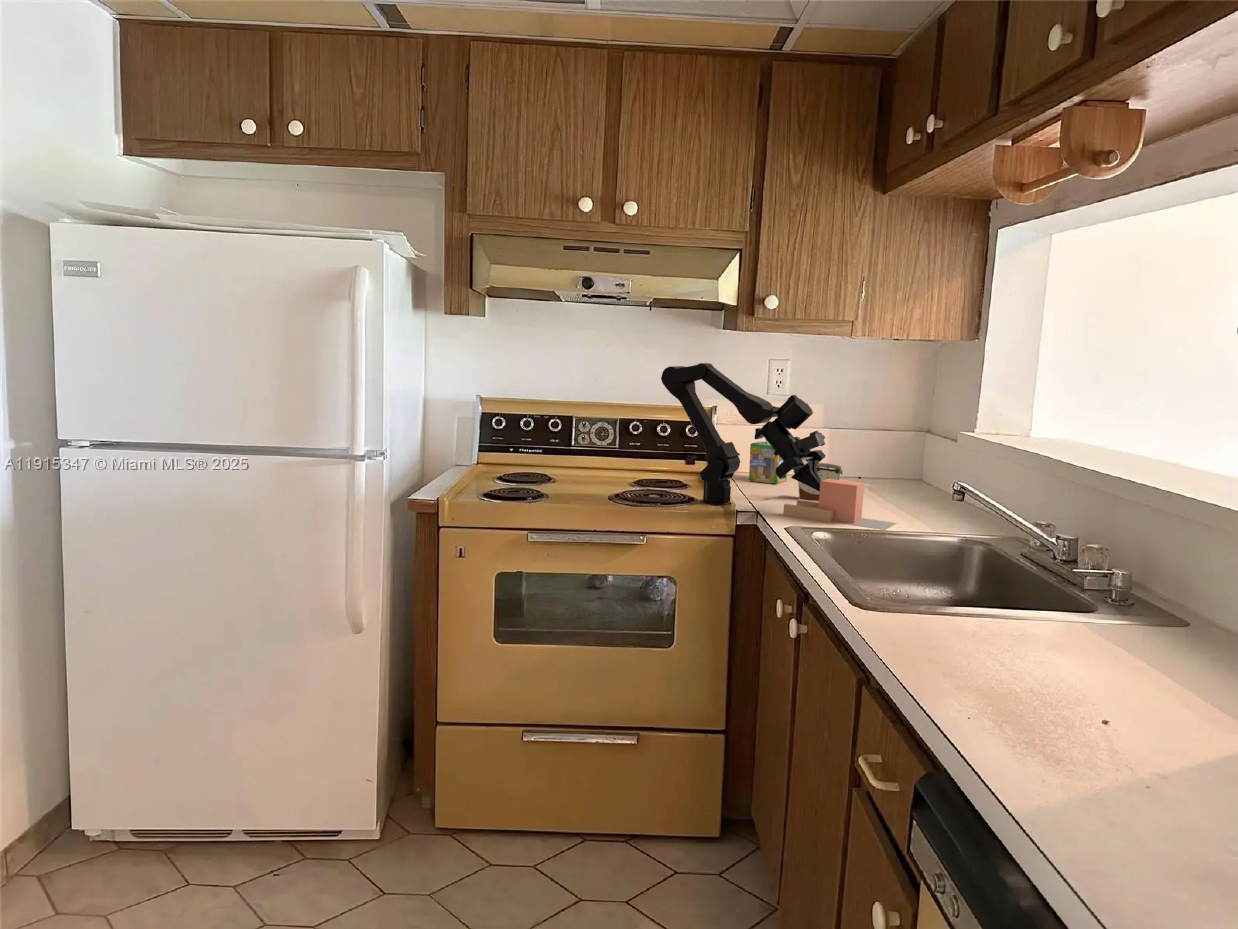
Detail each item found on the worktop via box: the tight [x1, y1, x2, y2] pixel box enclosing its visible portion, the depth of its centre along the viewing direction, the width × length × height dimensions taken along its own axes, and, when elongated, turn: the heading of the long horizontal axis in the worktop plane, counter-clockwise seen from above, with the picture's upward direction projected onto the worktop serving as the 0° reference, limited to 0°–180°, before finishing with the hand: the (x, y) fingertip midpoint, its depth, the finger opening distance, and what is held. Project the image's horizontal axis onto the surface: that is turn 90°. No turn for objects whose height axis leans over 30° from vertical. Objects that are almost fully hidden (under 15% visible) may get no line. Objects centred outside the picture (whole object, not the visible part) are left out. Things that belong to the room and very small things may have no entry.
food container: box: [797, 462, 843, 502], centre depth 242 cm, size 12×6×10 cm, turn 84°
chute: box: [780, 498, 898, 531], centre depth 217 cm, size 26×10×3 cm, turn 56°
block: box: [818, 479, 865, 523], centre depth 216 cm, size 9×5×9 cm, turn 56°
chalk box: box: [748, 439, 788, 485], centre depth 271 cm, size 9×9×15 cm
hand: (822, 490), depth 218 cm, fingers closed, pressing on block
